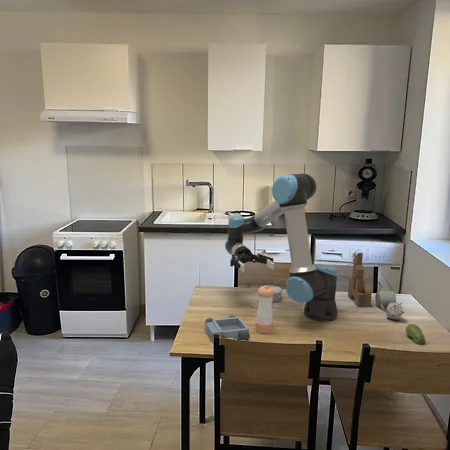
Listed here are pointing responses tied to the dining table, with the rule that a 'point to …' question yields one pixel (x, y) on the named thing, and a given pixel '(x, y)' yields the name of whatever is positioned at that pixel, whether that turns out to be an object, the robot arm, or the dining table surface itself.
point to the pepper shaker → (265, 310)
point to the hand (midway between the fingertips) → (258, 267)
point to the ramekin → (277, 292)
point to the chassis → (227, 328)
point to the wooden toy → (359, 284)
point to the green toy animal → (415, 333)
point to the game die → (394, 310)
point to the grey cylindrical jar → (385, 298)
